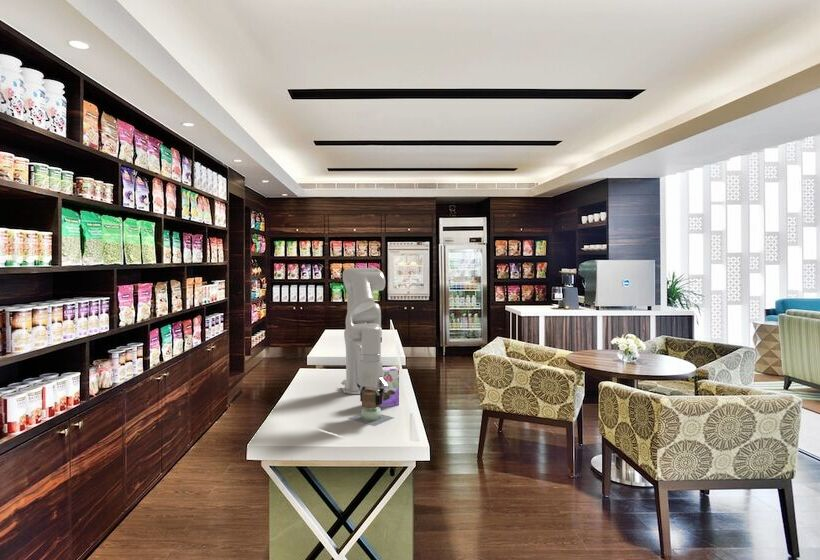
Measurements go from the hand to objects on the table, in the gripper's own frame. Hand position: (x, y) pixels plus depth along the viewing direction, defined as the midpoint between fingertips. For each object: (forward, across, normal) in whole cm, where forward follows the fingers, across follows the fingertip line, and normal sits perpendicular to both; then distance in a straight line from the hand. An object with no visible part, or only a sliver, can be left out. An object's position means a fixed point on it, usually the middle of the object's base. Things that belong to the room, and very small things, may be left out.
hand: (371, 402), depth 183 cm
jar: (+6, 0, 0) cm, 6 cm away
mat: (+7, 0, 0) cm, 7 cm away
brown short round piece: (+1, 0, 0) cm, 1 cm away
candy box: (+7, -8, +16) cm, 19 cm away
